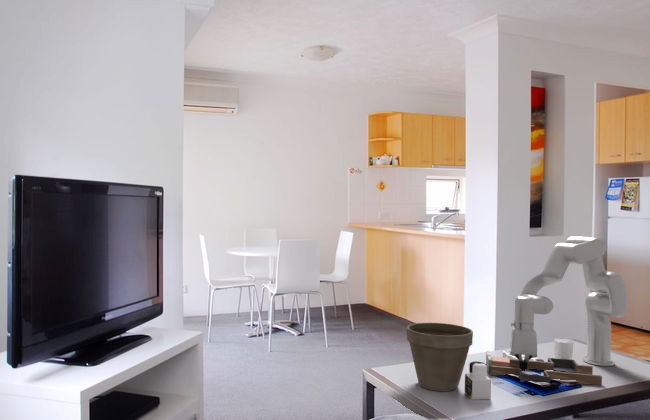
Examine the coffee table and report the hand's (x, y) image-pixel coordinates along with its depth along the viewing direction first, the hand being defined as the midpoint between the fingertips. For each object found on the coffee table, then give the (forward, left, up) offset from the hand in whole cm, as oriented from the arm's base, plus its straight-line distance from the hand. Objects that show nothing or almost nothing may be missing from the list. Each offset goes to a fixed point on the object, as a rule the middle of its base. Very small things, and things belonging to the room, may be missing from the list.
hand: (523, 370), depth 213 cm
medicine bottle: (+35, -20, -1) cm, 40 cm away
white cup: (-22, +20, -1) cm, 30 cm away
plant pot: (+27, -34, -1) cm, 44 cm away
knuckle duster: (-17, +2, -2) cm, 17 cm away
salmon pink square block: (-2, -9, -1) cm, 9 cm away
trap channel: (0, +7, -1) cm, 7 cm away
